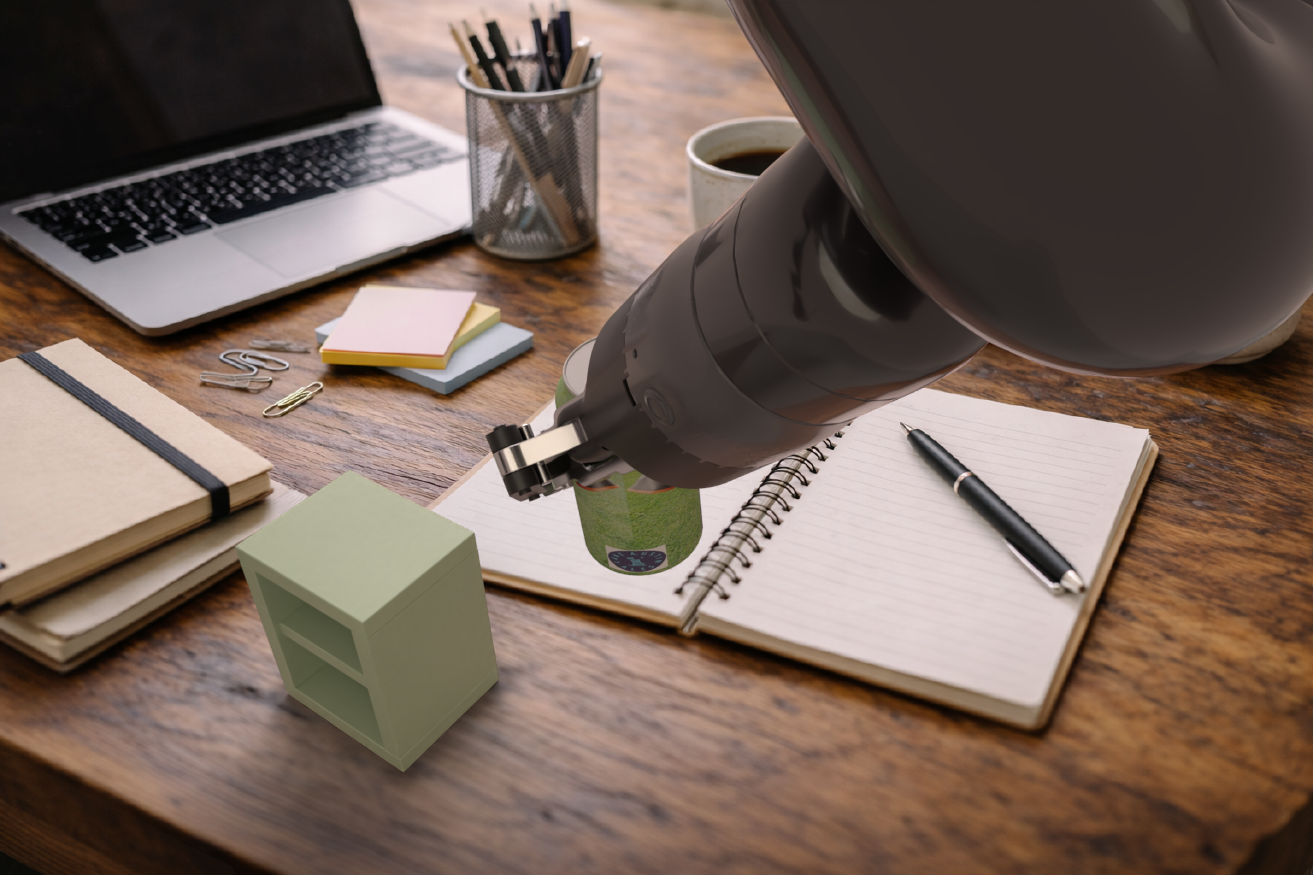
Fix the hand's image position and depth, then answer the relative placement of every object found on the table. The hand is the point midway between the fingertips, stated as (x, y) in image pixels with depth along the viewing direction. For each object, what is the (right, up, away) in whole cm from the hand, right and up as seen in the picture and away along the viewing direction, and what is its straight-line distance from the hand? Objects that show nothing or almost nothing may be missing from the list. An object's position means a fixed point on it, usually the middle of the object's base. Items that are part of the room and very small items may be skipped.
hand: (582, 459), depth 48 cm
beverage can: (+3, -5, +3) cm, 6 cm away
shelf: (-12, -14, +13) cm, 23 cm away
